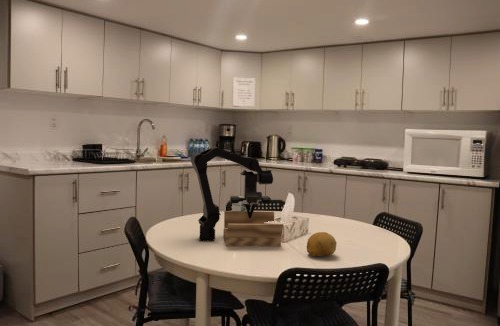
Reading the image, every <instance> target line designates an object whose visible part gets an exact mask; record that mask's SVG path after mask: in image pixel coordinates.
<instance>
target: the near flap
mask: <svg viewBox="0 0 500 326" xmlns="http://www.w3.org/2000/svg"><path fill="white" fill-rule="evenodd" d="M226 229H227V238H281V239H282V234H283V229H284V223H274V224H228V228H226Z"/></svg>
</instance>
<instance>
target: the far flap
mask: <svg viewBox="0 0 500 326" xmlns="http://www.w3.org/2000/svg"><path fill="white" fill-rule="evenodd" d="M223 212H224V213H223V214H224V216H223V217H224V218H223V219H224V220H223V229H228V224H264V222H268V221H274V222H275V211H265V210H264V211H260V210H259V211H257V210H256V211H253V213H252V216H251V218H249V216H248V213H247V211H232V210H224V211H223Z"/></svg>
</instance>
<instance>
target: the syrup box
mask: <svg viewBox="0 0 500 326" xmlns="http://www.w3.org/2000/svg"><path fill="white" fill-rule="evenodd" d="M238 196H239V198H244V196H240V195H238ZM231 205H232V207H231V211H247V210H246V207H245V205H243V204H242V202H239V203H231Z"/></svg>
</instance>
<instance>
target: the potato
mask: <svg viewBox="0 0 500 326" xmlns="http://www.w3.org/2000/svg"><path fill="white" fill-rule="evenodd" d="M336 250H337V241H336V239H335V237H334V236H333V235H332V234H331V233H328V232H323V231H321V232H320V231H319V232H315V233H313V234H311V235H310V236H309V238H308V239H307V243H306V252H307V253H308V254H309V255H310V256H313V257H320V256H321V257H330V256H332V255H333V254H335V252H336Z"/></svg>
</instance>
